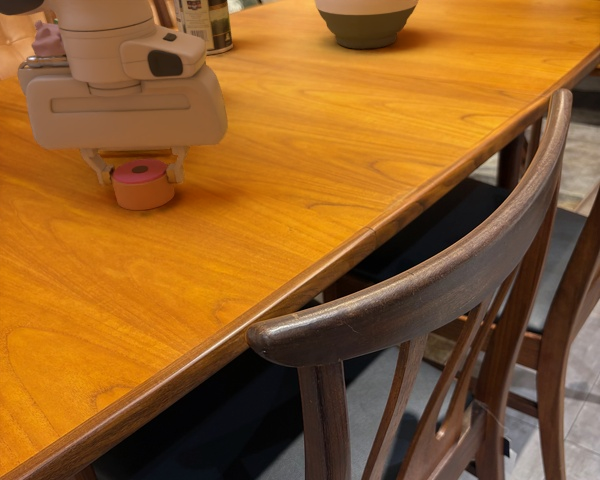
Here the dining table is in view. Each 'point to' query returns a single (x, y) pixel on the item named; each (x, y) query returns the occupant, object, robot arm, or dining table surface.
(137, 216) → the dining table surface
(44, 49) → the ice cream cone
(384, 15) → the bowl
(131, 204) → the donut
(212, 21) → the coffee can
